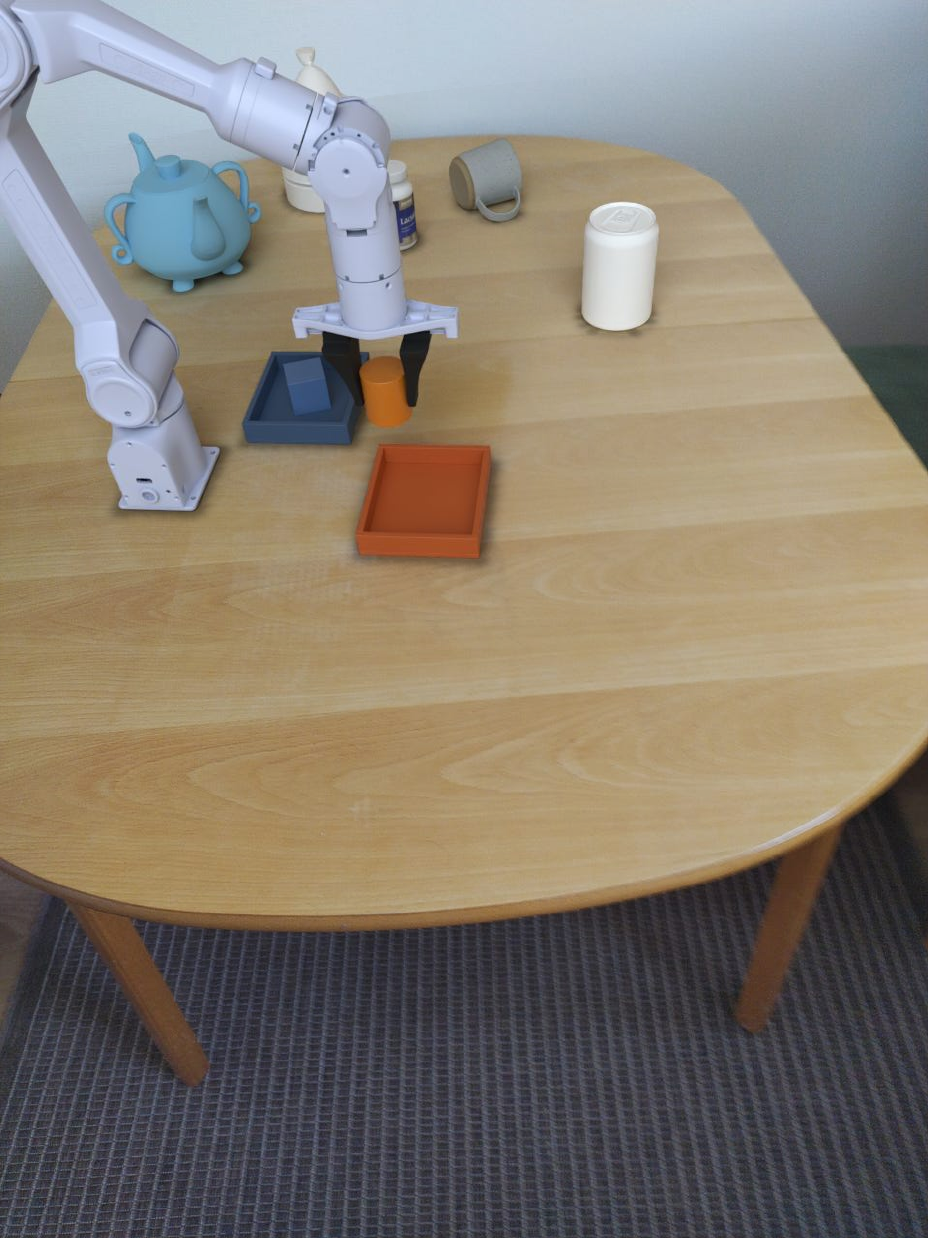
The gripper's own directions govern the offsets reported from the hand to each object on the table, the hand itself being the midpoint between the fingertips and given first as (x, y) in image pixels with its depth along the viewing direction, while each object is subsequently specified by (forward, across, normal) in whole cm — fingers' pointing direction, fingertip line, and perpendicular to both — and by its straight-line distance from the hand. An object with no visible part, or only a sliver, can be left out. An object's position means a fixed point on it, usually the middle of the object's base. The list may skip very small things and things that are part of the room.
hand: (387, 400), depth 89 cm
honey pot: (+9, +19, -62) cm, 65 cm away
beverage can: (+9, -22, -28) cm, 37 cm away
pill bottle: (+9, +7, -46) cm, 48 cm away
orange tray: (+8, -4, +6) cm, 11 cm away
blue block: (+8, +11, -10) cm, 17 cm away
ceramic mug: (+9, -5, -56) cm, 57 cm away
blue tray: (+8, +11, -10) cm, 18 cm away
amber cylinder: (+2, 0, 0) cm, 2 cm away
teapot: (+9, +33, -41) cm, 53 cm away
